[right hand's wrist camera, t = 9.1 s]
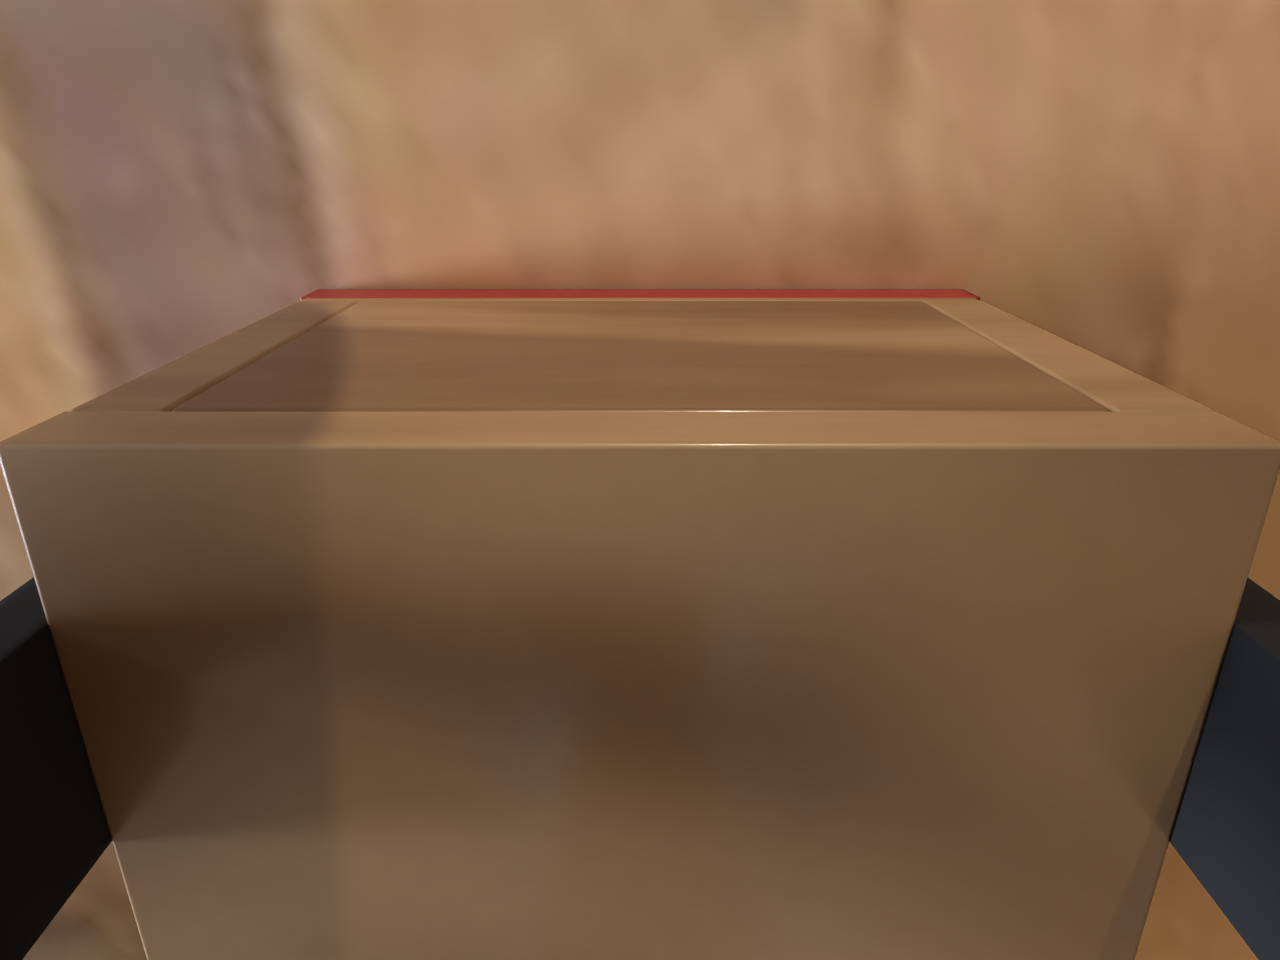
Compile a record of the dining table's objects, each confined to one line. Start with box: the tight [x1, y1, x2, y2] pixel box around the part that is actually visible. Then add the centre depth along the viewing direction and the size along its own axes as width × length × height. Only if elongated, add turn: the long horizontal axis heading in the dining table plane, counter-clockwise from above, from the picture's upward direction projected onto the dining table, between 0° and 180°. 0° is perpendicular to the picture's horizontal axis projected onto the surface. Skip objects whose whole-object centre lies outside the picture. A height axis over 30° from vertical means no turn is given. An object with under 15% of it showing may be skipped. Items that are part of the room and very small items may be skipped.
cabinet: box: [0, 290, 1280, 960], centre depth 15 cm, size 21×11×8 cm, turn 0°
